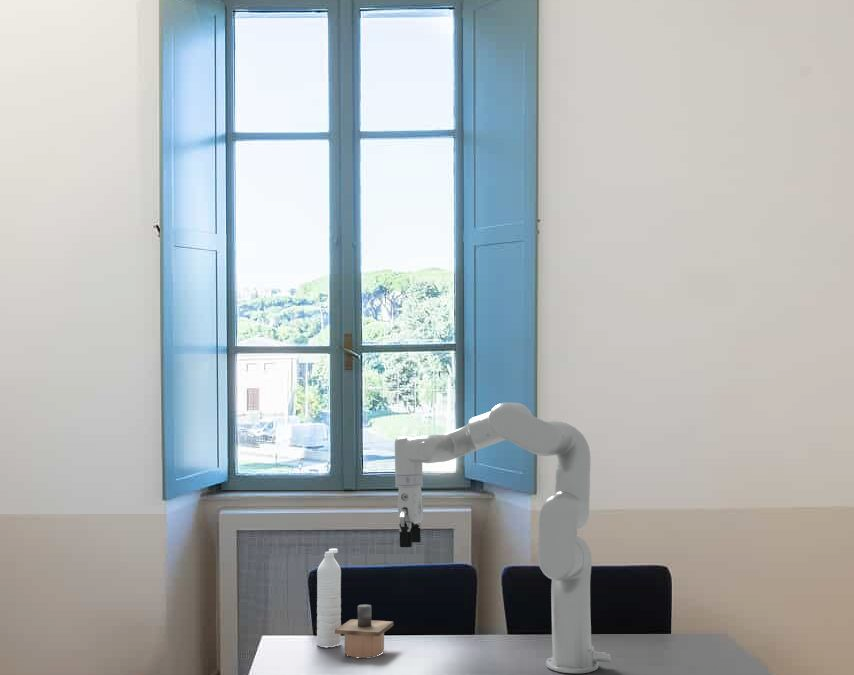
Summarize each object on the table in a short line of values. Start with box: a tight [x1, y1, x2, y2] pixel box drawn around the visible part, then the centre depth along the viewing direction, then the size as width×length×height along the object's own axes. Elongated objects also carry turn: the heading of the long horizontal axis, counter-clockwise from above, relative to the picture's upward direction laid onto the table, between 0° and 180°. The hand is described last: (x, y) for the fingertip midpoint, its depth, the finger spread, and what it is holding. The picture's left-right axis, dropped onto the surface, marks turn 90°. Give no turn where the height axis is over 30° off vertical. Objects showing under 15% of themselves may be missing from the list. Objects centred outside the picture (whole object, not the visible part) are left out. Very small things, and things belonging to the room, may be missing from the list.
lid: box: [335, 604, 394, 636], centre depth 221 cm, size 12×12×6 cm
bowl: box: [344, 632, 385, 659], centre depth 220 cm, size 10×10×6 cm
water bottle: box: [316, 548, 342, 646], centre depth 230 cm, size 9×6×25 cm
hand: (410, 544), depth 230 cm, fingers open, 9 cm apart
